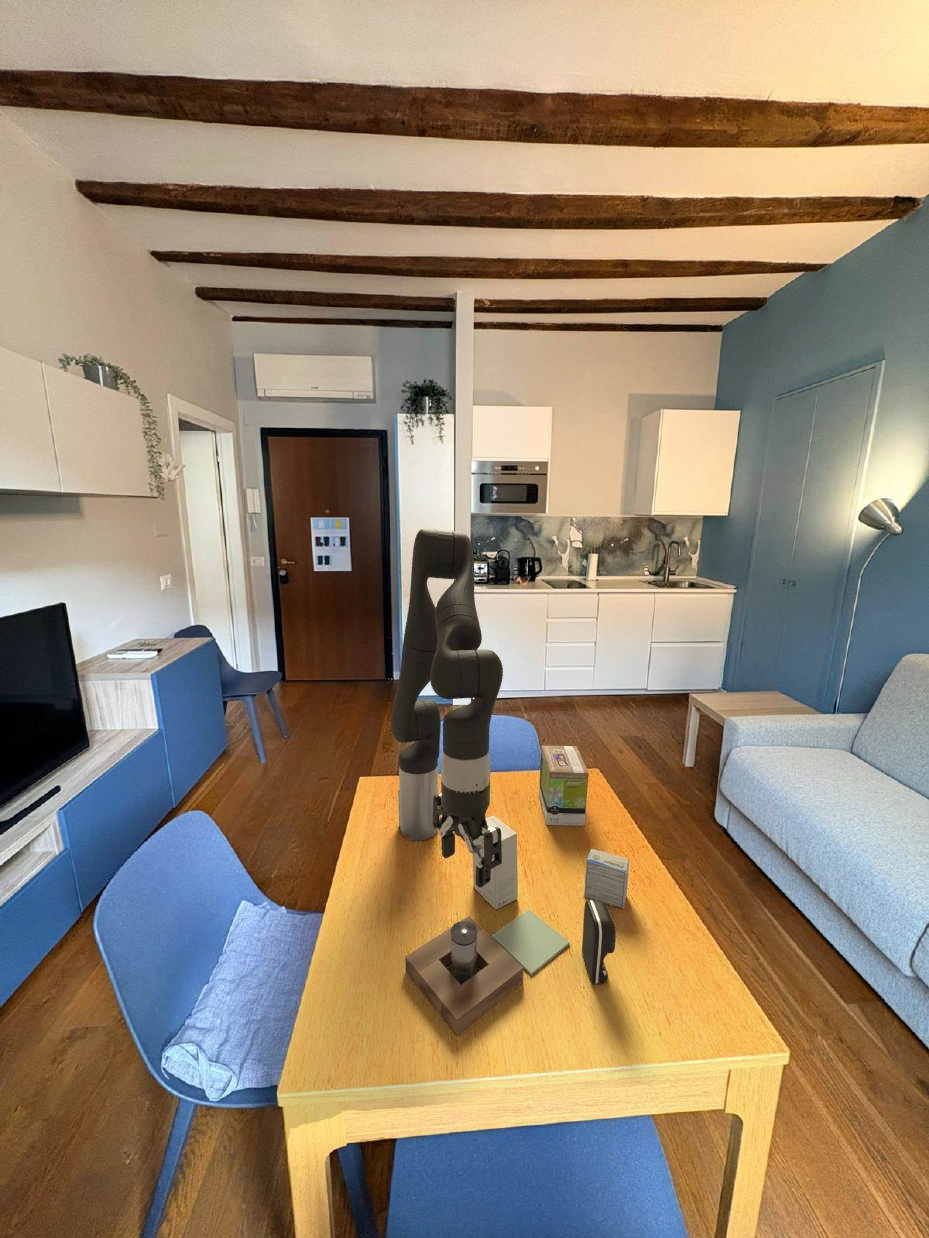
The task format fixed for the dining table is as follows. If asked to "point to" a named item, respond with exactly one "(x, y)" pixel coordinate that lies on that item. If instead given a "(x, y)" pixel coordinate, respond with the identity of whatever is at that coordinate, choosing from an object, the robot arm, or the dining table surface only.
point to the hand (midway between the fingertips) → (464, 869)
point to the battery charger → (597, 939)
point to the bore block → (476, 993)
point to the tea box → (563, 785)
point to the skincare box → (500, 868)
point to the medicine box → (606, 878)
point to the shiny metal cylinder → (463, 951)
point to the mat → (530, 941)
